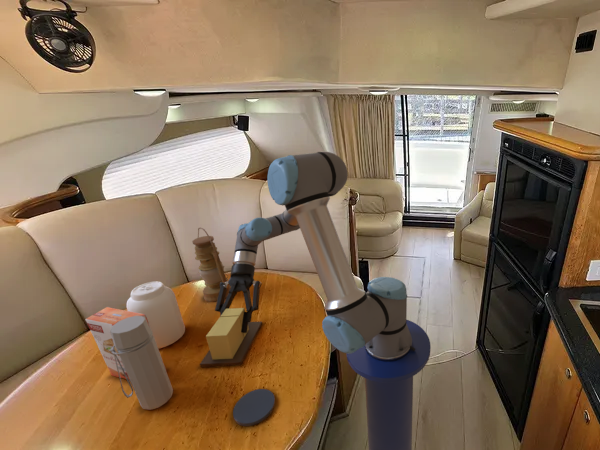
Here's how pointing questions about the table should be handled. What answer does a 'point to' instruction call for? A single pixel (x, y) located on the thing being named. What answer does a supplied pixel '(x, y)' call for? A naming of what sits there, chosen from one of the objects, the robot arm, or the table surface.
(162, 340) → the white jar
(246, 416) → the plate
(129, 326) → the water bottle
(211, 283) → the lantern
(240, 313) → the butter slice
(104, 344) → the cracker box
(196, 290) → the table surface
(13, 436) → the table surface
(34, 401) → the table surface
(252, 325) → the butter board
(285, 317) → the table surface
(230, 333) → the butter block
